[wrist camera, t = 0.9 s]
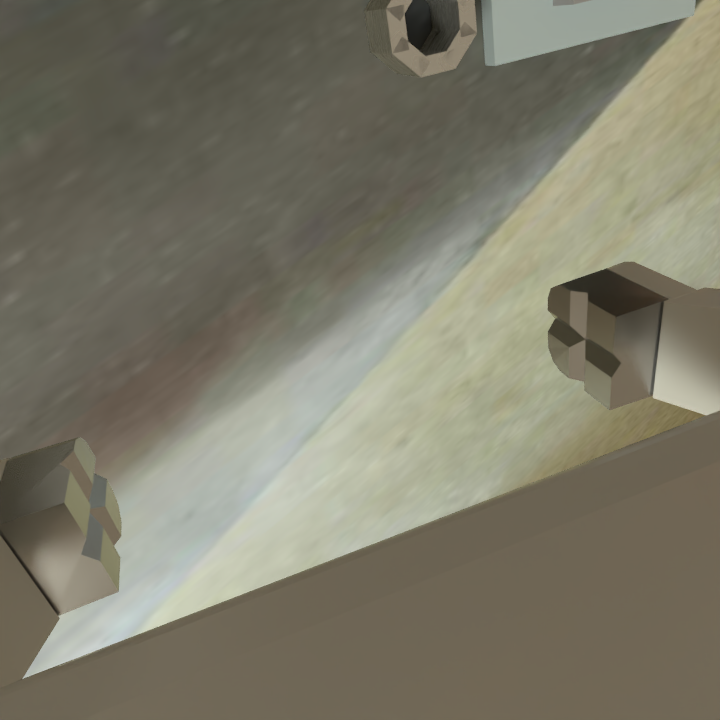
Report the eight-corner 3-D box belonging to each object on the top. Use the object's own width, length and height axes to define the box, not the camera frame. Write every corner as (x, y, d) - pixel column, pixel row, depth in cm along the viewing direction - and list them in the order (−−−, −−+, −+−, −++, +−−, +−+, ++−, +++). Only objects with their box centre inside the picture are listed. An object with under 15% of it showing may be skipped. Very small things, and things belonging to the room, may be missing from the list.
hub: (358, -19, 40) (381, -25, 36) (441, -37, 41) (471, -45, 37) (374, 79, 43) (396, 83, 39) (450, 60, 44) (479, 63, 40)
